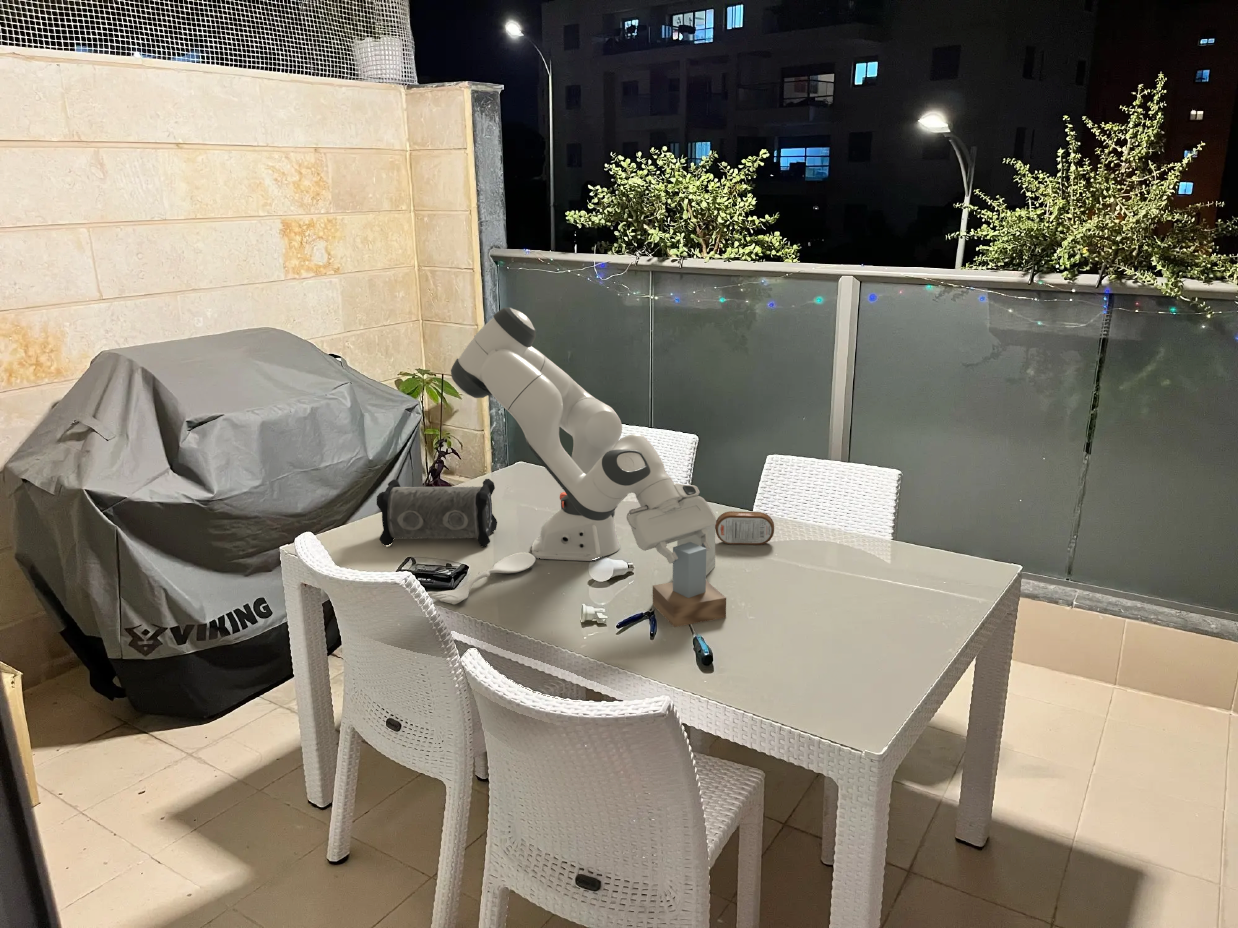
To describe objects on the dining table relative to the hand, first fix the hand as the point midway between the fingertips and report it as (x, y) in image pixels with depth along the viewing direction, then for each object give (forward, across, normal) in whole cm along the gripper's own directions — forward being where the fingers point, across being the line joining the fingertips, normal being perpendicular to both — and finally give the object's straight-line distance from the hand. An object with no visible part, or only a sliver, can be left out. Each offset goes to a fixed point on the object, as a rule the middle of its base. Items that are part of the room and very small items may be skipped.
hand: (691, 556), depth 202 cm
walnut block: (+9, 0, +10) cm, 13 cm away
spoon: (-20, -26, +39) cm, 51 cm away
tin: (-6, +38, +25) cm, 45 cm away
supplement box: (-3, +17, +21) cm, 27 cm away
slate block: (+5, 0, +6) cm, 8 cm away
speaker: (-44, -21, +63) cm, 80 cm away
